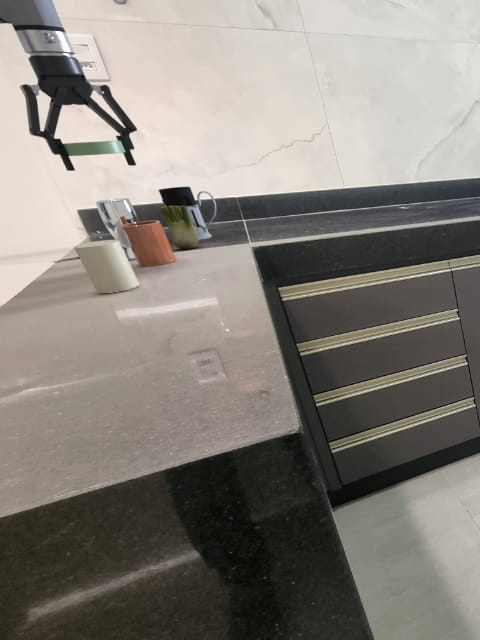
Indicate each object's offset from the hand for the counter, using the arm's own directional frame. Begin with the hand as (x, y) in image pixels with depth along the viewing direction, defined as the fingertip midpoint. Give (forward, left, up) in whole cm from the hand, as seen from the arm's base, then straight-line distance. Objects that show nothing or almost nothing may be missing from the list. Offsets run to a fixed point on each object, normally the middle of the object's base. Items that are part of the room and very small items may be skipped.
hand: (102, 167), depth 120 cm
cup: (+4, +6, -24) cm, 25 cm away
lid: (0, 0, +3) cm, 3 cm away
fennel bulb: (+15, +18, -24) cm, 33 cm away
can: (-10, -16, -24) cm, 30 cm away
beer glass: (+4, +20, -24) cm, 31 cm away
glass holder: (+24, +32, -24) cm, 46 cm away
